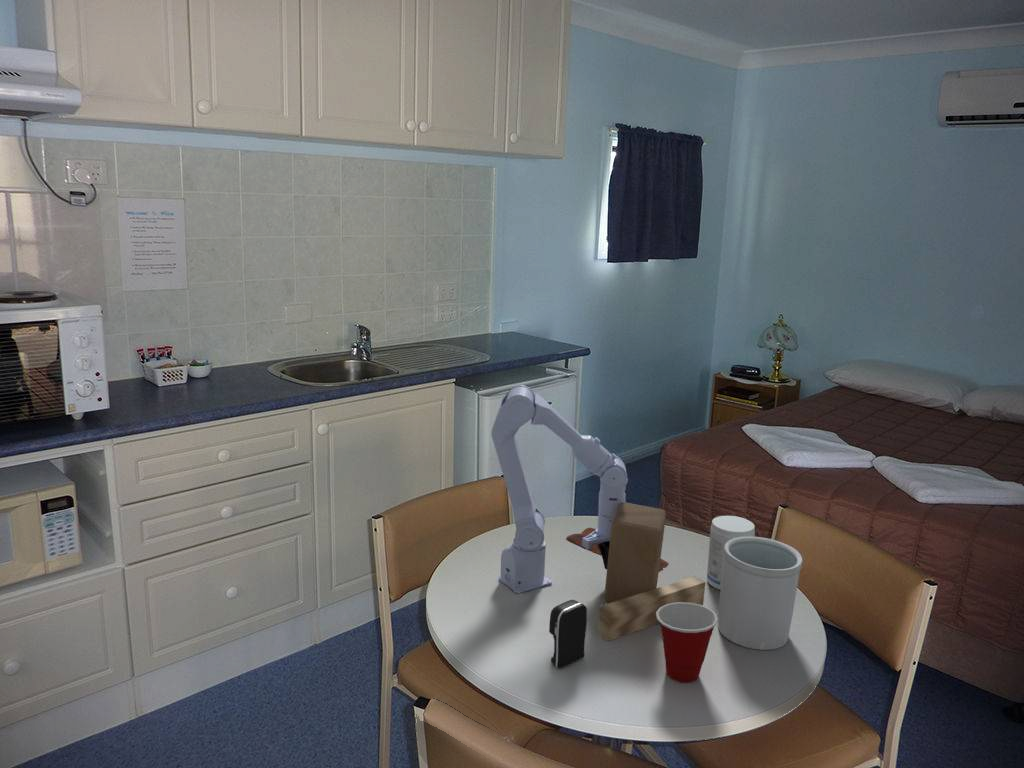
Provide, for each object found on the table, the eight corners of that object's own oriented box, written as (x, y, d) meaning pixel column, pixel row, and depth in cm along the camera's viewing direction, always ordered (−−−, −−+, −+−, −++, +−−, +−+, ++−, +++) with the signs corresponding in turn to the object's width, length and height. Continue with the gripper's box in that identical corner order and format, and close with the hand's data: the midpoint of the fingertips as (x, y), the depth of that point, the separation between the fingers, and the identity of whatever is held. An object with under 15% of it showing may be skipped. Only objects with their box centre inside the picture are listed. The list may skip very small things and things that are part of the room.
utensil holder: (799, 626, 161) (809, 547, 157) (783, 661, 149) (794, 576, 145) (727, 606, 169) (735, 530, 164) (706, 637, 156) (714, 556, 152)
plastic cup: (669, 649, 151) (674, 592, 149) (721, 672, 145) (728, 613, 142) (640, 673, 143) (644, 614, 141) (693, 699, 137) (700, 637, 134)
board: (607, 641, 154) (609, 613, 152) (597, 633, 156) (599, 606, 155) (702, 607, 167) (705, 581, 166) (692, 601, 170) (695, 576, 168)
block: (650, 615, 164) (660, 531, 157) (602, 604, 166) (611, 521, 159) (656, 589, 173) (667, 508, 166) (611, 579, 175) (620, 499, 168)
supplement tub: (750, 578, 181) (757, 519, 178) (748, 597, 172) (755, 535, 169) (707, 570, 184) (713, 512, 181) (703, 589, 176) (709, 527, 172)
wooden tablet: (563, 541, 199) (563, 535, 198) (588, 530, 206) (589, 524, 205) (650, 579, 180) (650, 572, 180) (674, 565, 187) (675, 559, 187)
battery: (571, 648, 151) (574, 594, 148) (585, 657, 148) (588, 602, 145) (544, 661, 146) (547, 605, 143) (558, 671, 143) (561, 614, 141)
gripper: (598, 527, 165) (595, 585, 168) (648, 511, 173) (645, 568, 176) (576, 515, 170) (575, 572, 174) (626, 501, 178) (624, 555, 182)
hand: (609, 569), depth 175 cm, fingers closed, pressing on block
